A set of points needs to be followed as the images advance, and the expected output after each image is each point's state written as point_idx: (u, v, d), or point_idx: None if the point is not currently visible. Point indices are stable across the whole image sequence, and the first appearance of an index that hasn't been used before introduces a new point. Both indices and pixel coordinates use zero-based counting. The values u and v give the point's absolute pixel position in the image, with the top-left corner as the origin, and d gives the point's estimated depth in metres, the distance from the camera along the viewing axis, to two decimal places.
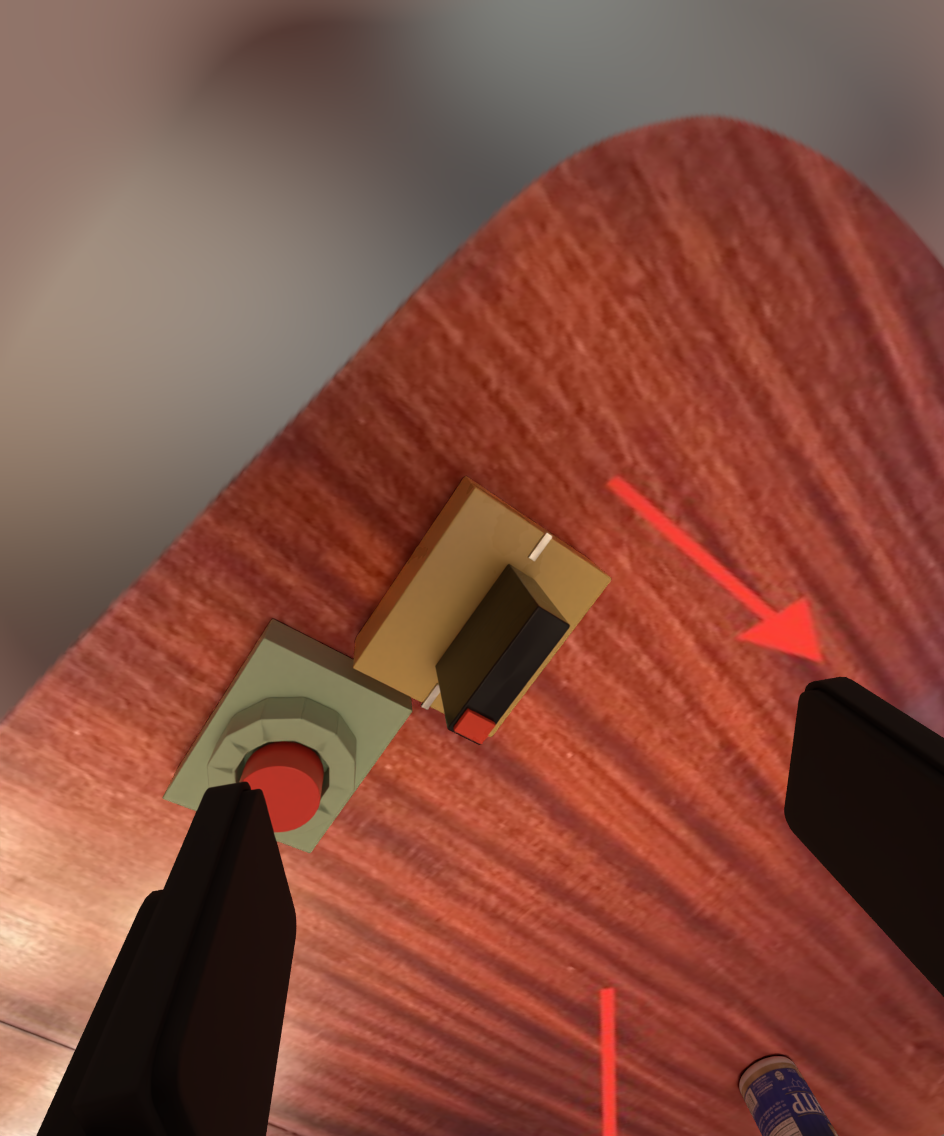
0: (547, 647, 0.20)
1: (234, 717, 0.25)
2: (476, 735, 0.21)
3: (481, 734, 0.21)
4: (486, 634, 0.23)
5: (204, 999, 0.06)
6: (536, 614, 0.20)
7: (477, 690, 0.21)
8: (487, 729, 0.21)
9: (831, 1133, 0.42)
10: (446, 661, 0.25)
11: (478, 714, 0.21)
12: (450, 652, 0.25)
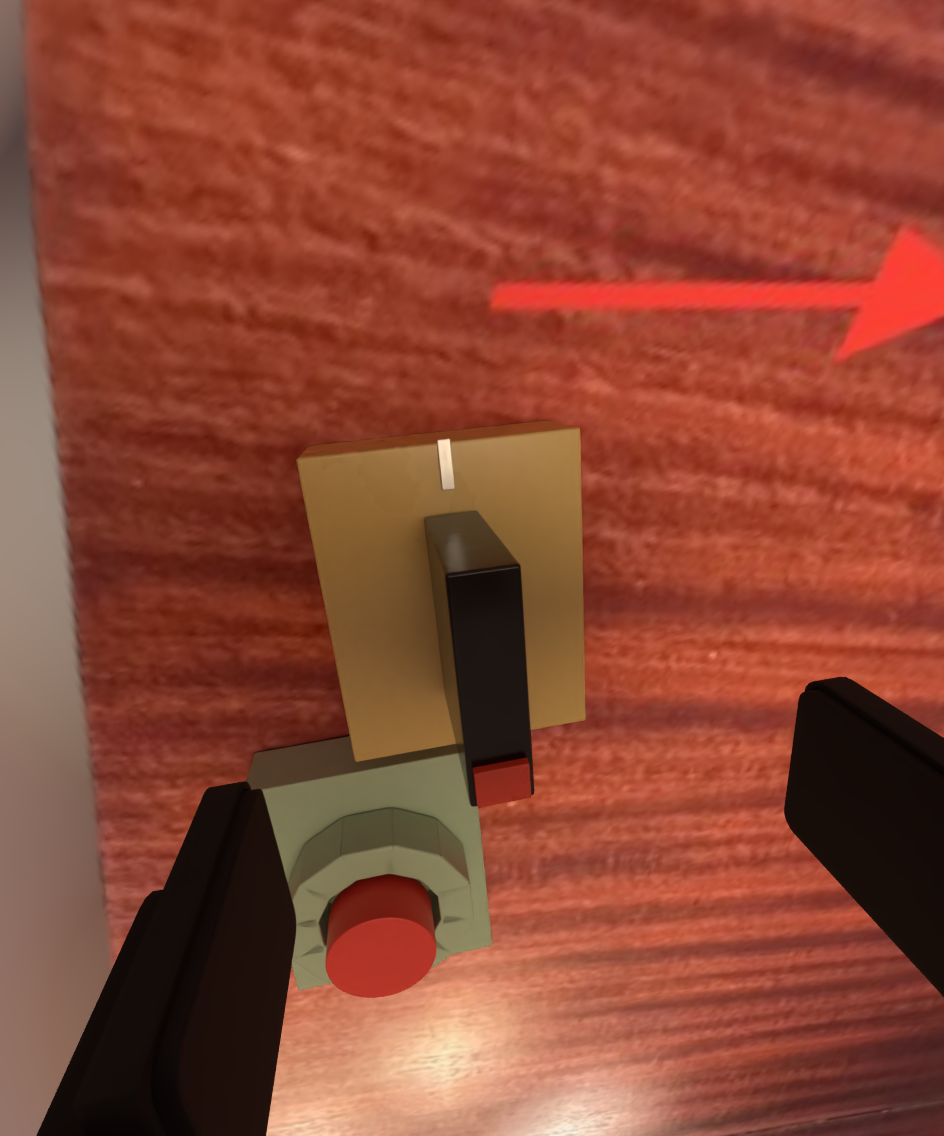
0: (511, 618, 0.12)
1: (288, 885, 0.20)
2: (513, 792, 0.13)
3: (519, 786, 0.13)
4: (443, 638, 0.14)
5: (204, 999, 0.06)
6: (451, 588, 0.11)
7: (464, 738, 0.12)
8: (522, 775, 0.13)
9: None
10: (445, 688, 0.17)
11: (494, 764, 0.13)
12: (443, 673, 0.17)
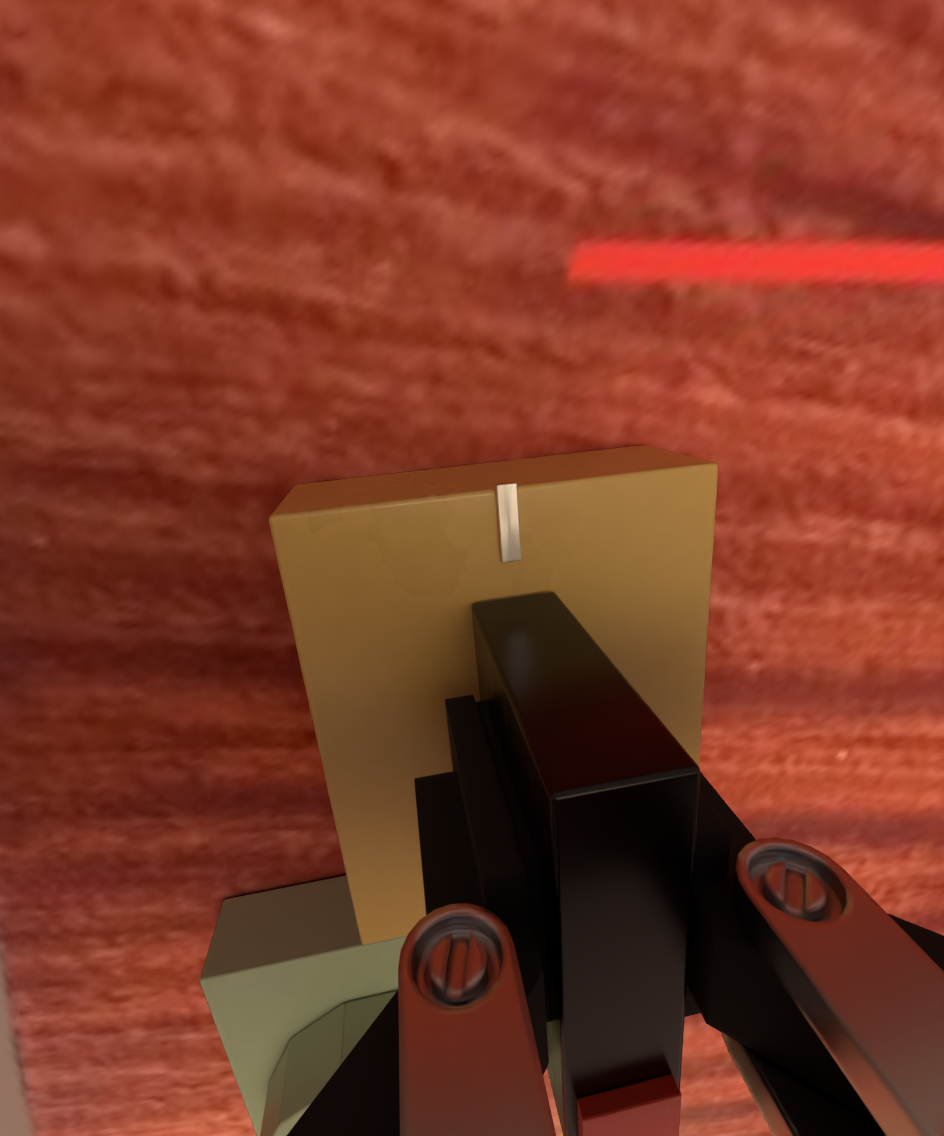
0: (674, 863, 0.06)
1: (267, 1095, 0.14)
2: None
3: (660, 1128, 0.07)
4: None
5: (525, 831, 0.07)
6: (562, 819, 0.05)
7: (566, 1057, 0.07)
8: (667, 1113, 0.07)
9: None
10: None
11: (614, 1089, 0.07)
12: None
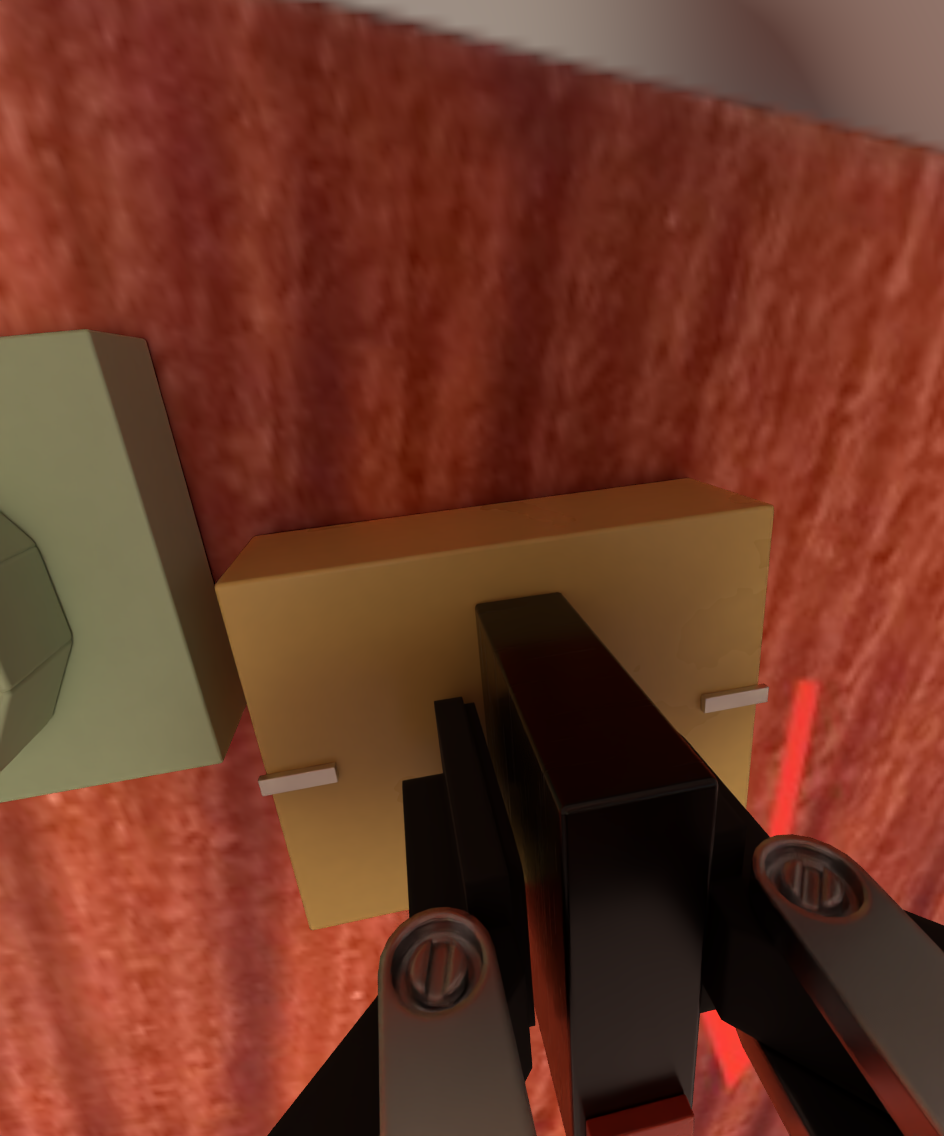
0: (689, 879, 0.06)
1: None
2: None
3: None
4: (518, 833, 0.08)
5: (510, 834, 0.07)
6: (574, 835, 0.05)
7: (575, 1078, 0.06)
8: (679, 1135, 0.07)
9: None
10: None
11: (625, 1109, 0.07)
12: None
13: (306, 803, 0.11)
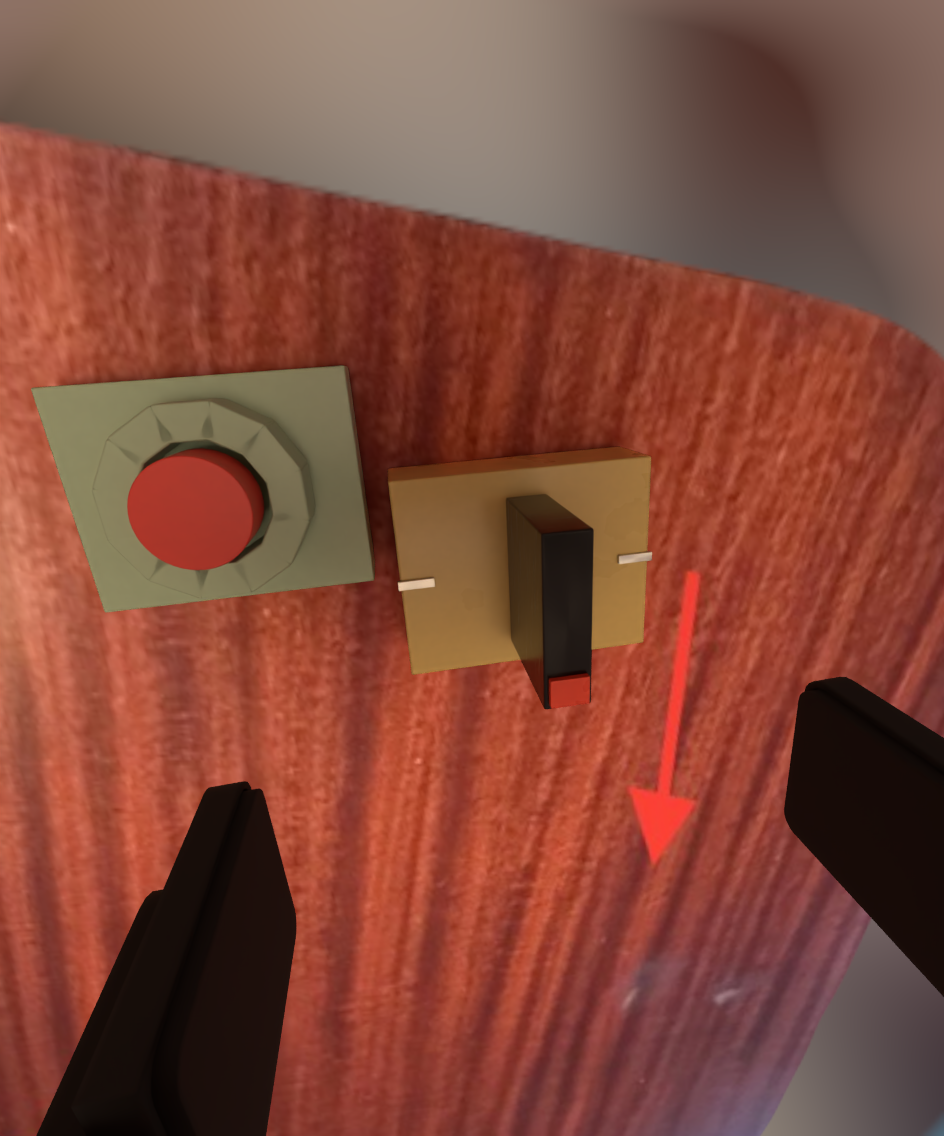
0: (585, 567, 0.16)
1: (223, 399, 0.18)
2: (577, 698, 0.18)
3: (582, 694, 0.18)
4: (524, 587, 0.19)
5: (204, 999, 0.06)
6: (545, 543, 0.16)
7: (544, 656, 0.17)
8: (584, 685, 0.17)
9: None
10: (515, 632, 0.21)
11: (564, 676, 0.17)
12: (513, 620, 0.21)
13: (418, 598, 0.21)
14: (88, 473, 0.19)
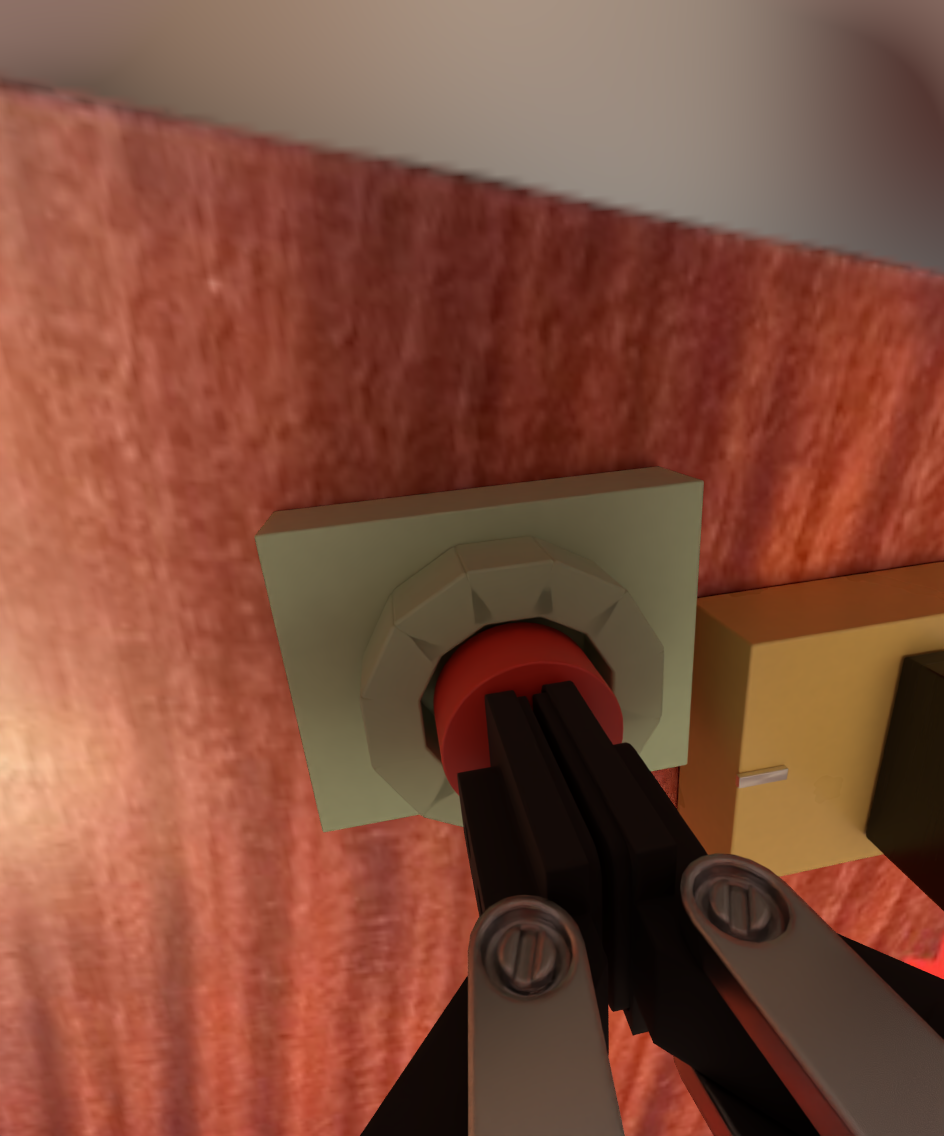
0: None
1: (535, 540, 0.12)
2: None
3: None
4: None
5: (579, 824, 0.07)
6: None
7: None
8: None
9: None
10: (896, 839, 0.15)
11: None
12: (890, 821, 0.15)
13: (758, 794, 0.15)
14: (324, 651, 0.12)
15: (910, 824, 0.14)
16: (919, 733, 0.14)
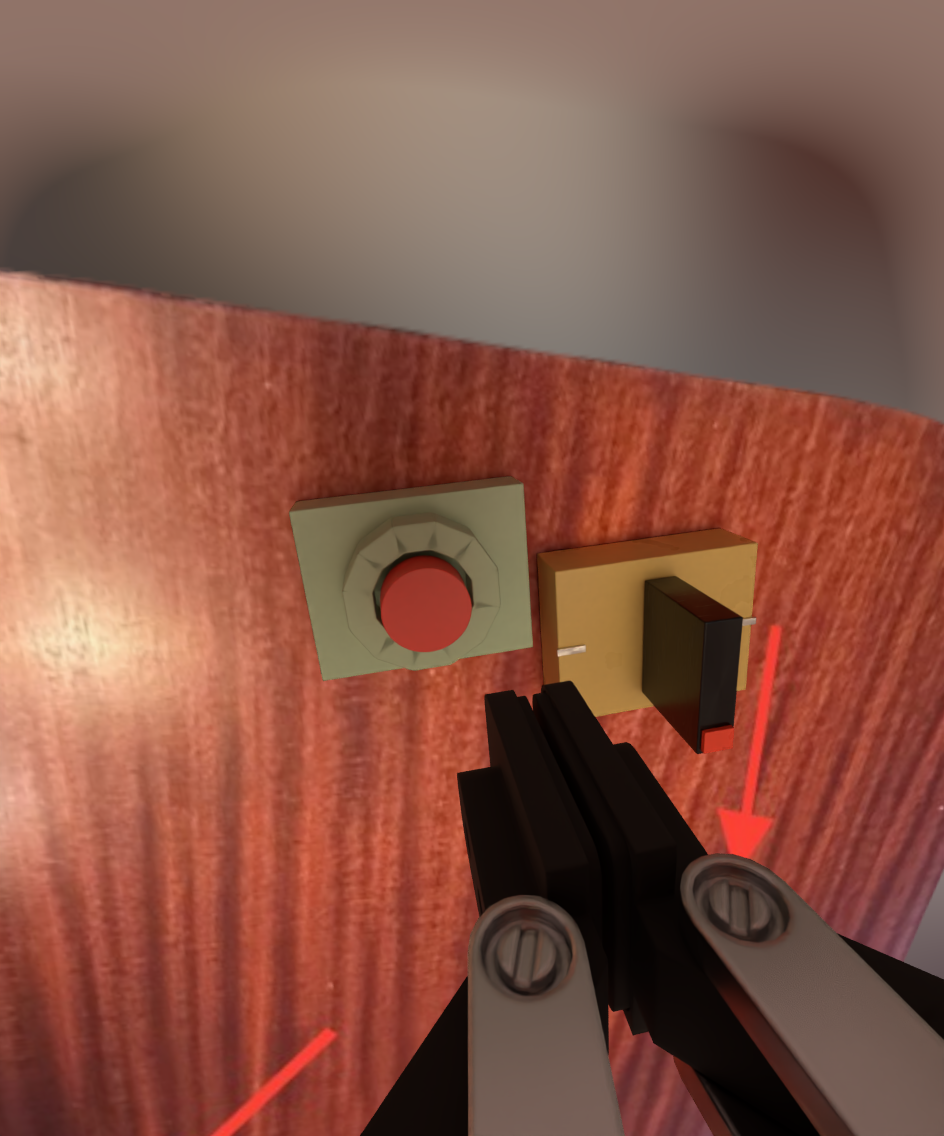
0: (735, 645, 0.21)
1: (433, 514, 0.23)
2: (724, 744, 0.22)
3: (727, 741, 0.22)
4: (671, 656, 0.24)
5: (579, 824, 0.07)
6: (707, 629, 0.21)
7: (700, 713, 0.22)
8: (729, 735, 0.22)
9: None
10: (650, 686, 0.26)
11: (713, 728, 0.22)
12: (648, 677, 0.26)
13: (571, 661, 0.26)
14: (323, 573, 0.24)
15: (653, 675, 0.26)
16: (651, 621, 0.25)
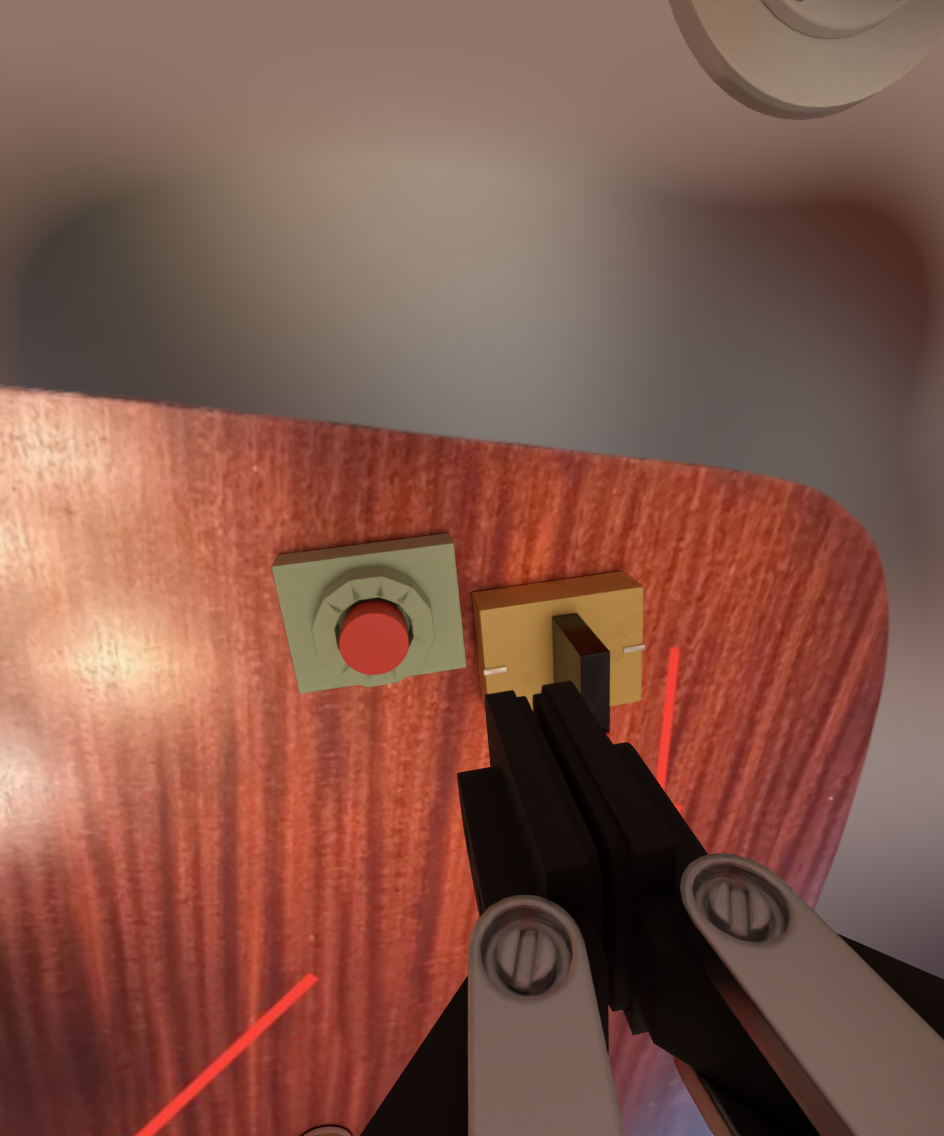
0: (605, 672, 0.28)
1: (382, 567, 0.30)
2: None
3: None
4: (566, 677, 0.31)
5: (579, 824, 0.07)
6: (582, 660, 0.28)
7: None
8: None
9: None
10: None
11: None
12: None
13: (495, 679, 0.33)
14: (298, 612, 0.31)
15: None
16: (556, 649, 0.32)
